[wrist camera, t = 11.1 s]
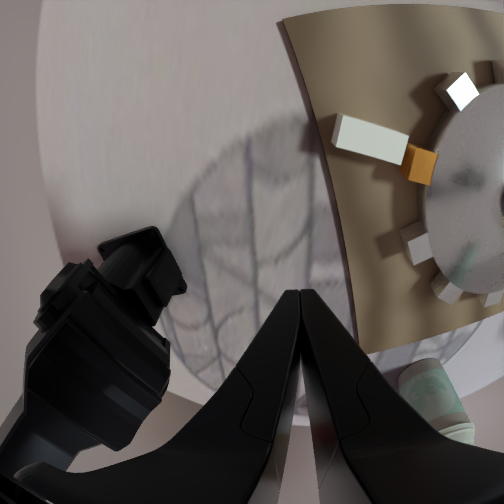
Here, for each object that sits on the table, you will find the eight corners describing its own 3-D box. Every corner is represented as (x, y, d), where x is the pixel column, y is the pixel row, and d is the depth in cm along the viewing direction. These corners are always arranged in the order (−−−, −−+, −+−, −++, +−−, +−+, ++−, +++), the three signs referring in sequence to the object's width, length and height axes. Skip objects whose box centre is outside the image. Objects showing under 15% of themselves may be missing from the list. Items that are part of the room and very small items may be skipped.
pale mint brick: (331, 141, 18) (335, 147, 16) (337, 112, 17) (343, 115, 15) (391, 158, 18) (400, 165, 16) (398, 131, 17) (409, 136, 15)
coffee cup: (455, 342, 27) (489, 428, 17) (444, 381, 31) (466, 455, 21) (388, 362, 29) (409, 458, 19) (386, 398, 33) (399, 478, 23)
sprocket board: (359, 352, 28) (360, 355, 28) (282, 20, 14) (282, 19, 14) (560, 281, 21) (562, 283, 21) (566, 33, 7) (568, 33, 7)
